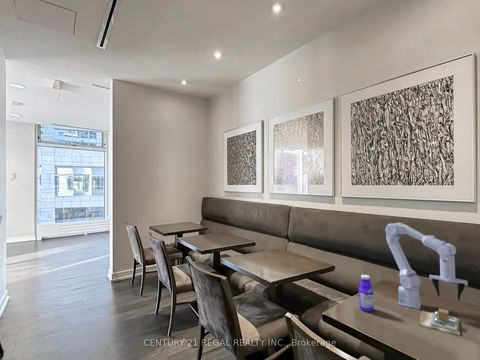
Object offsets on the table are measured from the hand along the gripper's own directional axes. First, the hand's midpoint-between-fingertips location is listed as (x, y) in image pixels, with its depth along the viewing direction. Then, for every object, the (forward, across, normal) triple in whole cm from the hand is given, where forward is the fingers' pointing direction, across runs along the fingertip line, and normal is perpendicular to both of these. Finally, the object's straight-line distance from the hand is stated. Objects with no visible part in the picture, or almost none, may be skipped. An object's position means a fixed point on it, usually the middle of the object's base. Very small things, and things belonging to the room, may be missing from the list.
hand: (448, 297), depth 128 cm
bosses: (+9, -4, -9) cm, 13 cm away
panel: (+9, -2, -9) cm, 13 cm away
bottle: (+10, -34, -14) cm, 38 cm away
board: (+10, -4, -9) cm, 14 cm away
